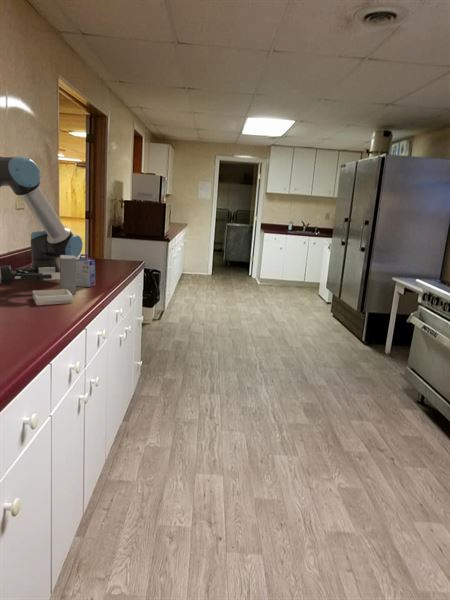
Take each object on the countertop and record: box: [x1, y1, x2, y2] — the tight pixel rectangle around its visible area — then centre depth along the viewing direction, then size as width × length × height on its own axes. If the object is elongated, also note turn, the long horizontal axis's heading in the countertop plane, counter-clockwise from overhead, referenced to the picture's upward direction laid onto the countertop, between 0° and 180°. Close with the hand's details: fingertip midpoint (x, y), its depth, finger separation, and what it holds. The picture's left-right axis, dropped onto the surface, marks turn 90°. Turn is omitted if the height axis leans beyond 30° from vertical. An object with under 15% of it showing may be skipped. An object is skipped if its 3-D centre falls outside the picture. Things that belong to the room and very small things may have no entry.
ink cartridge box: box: [76, 253, 96, 288], centre depth 197 cm, size 10×6×14 cm, turn 78°
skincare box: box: [58, 255, 78, 296], centre depth 180 cm, size 8×7×16 cm
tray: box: [32, 288, 74, 306], centre depth 168 cm, size 13×13×3 cm
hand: (57, 273), depth 178 cm, fingers open, 13 cm apart
